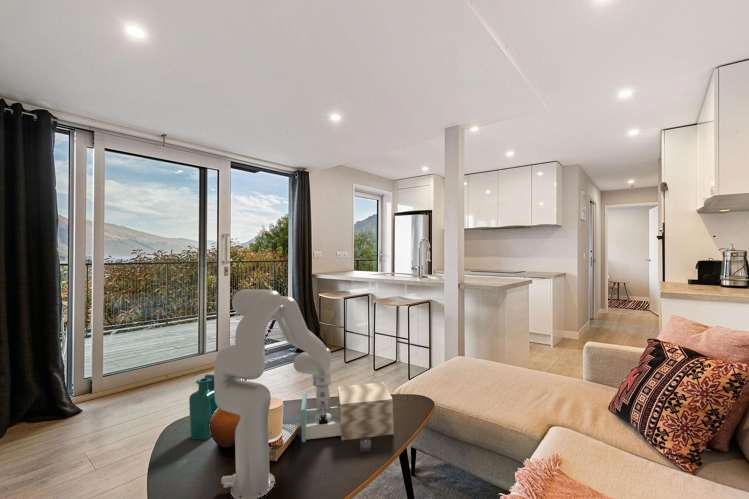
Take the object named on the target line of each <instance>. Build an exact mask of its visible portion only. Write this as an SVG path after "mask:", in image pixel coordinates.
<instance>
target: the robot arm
mask: <svg viewBox="0 0 749 499" xmlns="http://www.w3.org/2000/svg"><path fill="white" fill-rule="evenodd" d="M231 306H232V308H233V311H234V312H235V313H236V314H238V315H241V316H242V318H241V319H240V320H239V322H238V325H237V326H236V329H235V334H234V335H235V337H234V338H235V340H234V341H235V342H234V344H228V345H226V346H224V347H222V348H221V349H220V351H219V352H218V353H217V355H216V357H215V360H214V363H213V364H214V365H213V368H214V369H213V375H214V395H215V402H216V405H217V407H218V410H221V411H224V412H226V413H229V414H235V415H237V416H239V421H238V423H237V425H236V427H235V431H234V444H235V445H234V446H235V447H234V450H235V451H234V452H235V454H234V455H235V473H233V474H232V475H223V476H222V477H221V480H220V481H221V482H220V483H221V485H223V488H225V489H226V488H230V496H231V495H232V496H233V498H235V499H257V498H260V497H262V496H264V495H266V494H267V493H268V492H269V491H270V490H271V489H272V488H273V487H274V488H275V486H274V484H275V485H276V479H275V476H274V475H273V474H272V473H270V450H269V448H270V447H269V446H270V445H269V444H270V443H269V414H270V407H271V400H272V399H271V398H272V396H271V391H270V390H269V388H268V387H267V386H266V385H264V384H262V383H259V382H254V381H252V380H257V379H259V378H260V377H261V376H262V375H263V373H264V371H265V366H266V350H265V349H266V345H265V344H266V343H265V341H266V340H265V338H266V337H265V336H266V330H267V327H268V325H269V323H270V322H271V321H276V322H277V324H278V326H279V328H280V330H281V333H282V334H283V337H284V339H285V340H286V342H287V343H288V344H290V345H292V346H293V347H295V348H297V349H299V350H302V351H303V352H301V353H299V354H297V355H296V357H295V358H294V360H293V367H294V370H295V371H297V372H298V373H300V374H306V375H311V377H312V378H311V379H312V380H311V381H312V386H313V387H315V399H316V400H315V401H316V407H317V408H316V409H318V412H319V414H320V419H319V425H320V424H328V421H327V411H330V407H331V394H330V385H331V384H332V355H331V349H330V348H328V347H327V346H326V345H325V343H324V342H323V341H322V340H321V339H320V338H319V337H318V336H317V335H315V334H314V333H313V332H312V331H311V330H309V329H308V326H307V323H306V322H305V319H304V317H303V315H302V312H301V310H300V306H299V304H298V302H297V301H296V300H295V299H294V298H293V297H290V296H283V295H281V294H280V293H279V292H277V291H276V290H273V289H265V288H264V289H262V288H260V289H259V288H258V289H254V288H253V289H251V288H250V289H249V288H245V289H241V290H239V291H237V292H236V293H235V294H234V295H233V296H232V300H231ZM242 379H243V380H242ZM247 380H248V381H247ZM249 380H250V381H249ZM320 410H321V411H320ZM274 488H273V489H274ZM232 496H231V497H232ZM266 496H267V495H266ZM240 497H241V498H240ZM233 498H232V499H233Z"/></svg>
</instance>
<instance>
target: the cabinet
mask: <svg viewBox="0 0 749 499" xmlns="http://www.w3.org/2000/svg"><path fill="white" fill-rule="evenodd" d="M337 399H338V406H340V410H341V435H340V439H341V441H347V440H356V439H361V438H362V437H369V438H372V437H382V436H390V435H391V436H392V435H394V434H395V432H394V431H395V430H394V406H393V405H394V404H393V403H394V402H393V397H392V395H391V393H390V392H389V390H388V387H387V385H386V383H385V382H383V381H382V382H372V383H370V382H369V383H360V384H349V385H341V386H339V385H338V386H337Z"/></svg>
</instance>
